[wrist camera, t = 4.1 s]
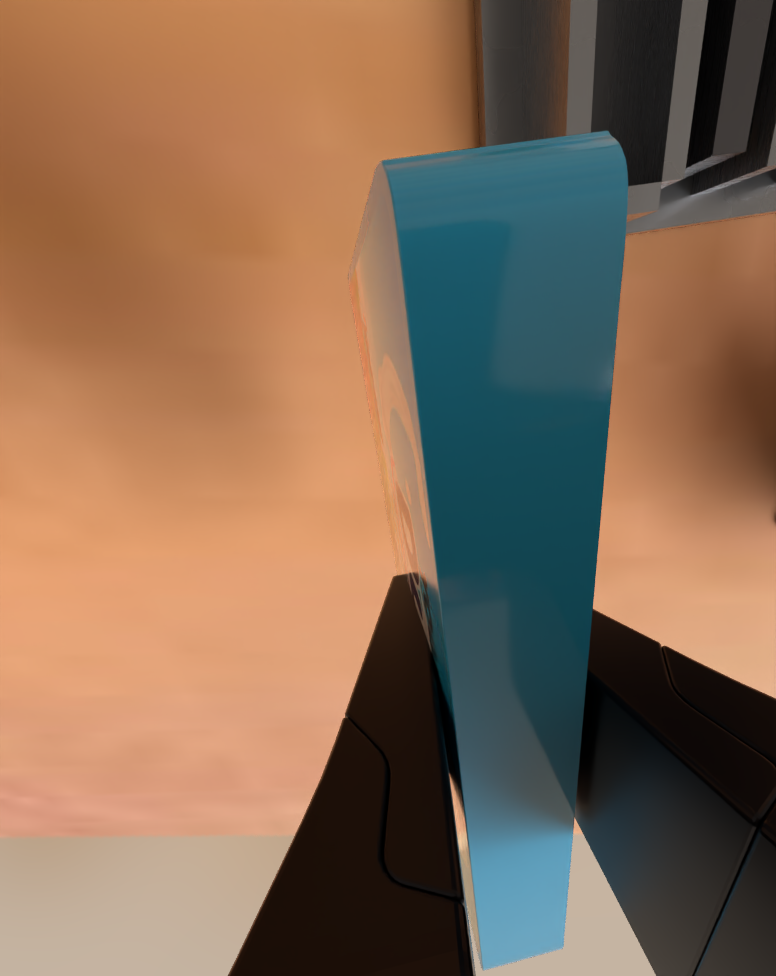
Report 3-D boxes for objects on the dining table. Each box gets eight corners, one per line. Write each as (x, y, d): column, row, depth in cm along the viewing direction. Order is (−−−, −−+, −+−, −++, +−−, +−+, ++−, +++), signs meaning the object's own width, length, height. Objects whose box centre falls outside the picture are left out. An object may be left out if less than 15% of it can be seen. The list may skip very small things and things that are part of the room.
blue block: (459, 677, 13) (562, 959, 7) (415, 687, 12) (484, 981, 7) (417, 266, 8) (638, 96, 2) (347, 277, 8) (384, 126, 2)
